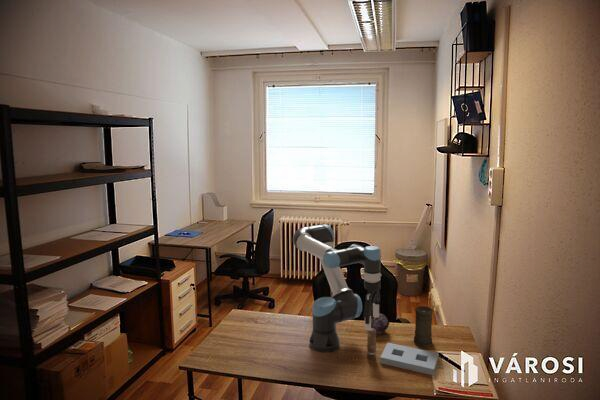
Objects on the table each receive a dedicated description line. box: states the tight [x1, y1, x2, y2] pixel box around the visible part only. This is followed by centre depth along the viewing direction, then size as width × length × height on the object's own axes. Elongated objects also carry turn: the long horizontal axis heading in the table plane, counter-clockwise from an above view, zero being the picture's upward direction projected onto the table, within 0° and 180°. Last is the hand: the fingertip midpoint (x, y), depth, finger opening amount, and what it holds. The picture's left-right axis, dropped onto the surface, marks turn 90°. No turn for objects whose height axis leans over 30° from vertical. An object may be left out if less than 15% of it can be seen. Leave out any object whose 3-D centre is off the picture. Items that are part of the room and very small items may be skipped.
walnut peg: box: [366, 328, 377, 361], centre depth 196 cm, size 4×4×14 cm
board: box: [379, 342, 439, 376], centre depth 193 cm, size 24×14×3 cm, turn 64°
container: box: [413, 305, 434, 348], centre depth 207 cm, size 9×9×18 cm
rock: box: [371, 312, 390, 337], centre depth 220 cm, size 12×9×10 cm
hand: (372, 323), depth 193 cm, fingers open, 13 cm apart
